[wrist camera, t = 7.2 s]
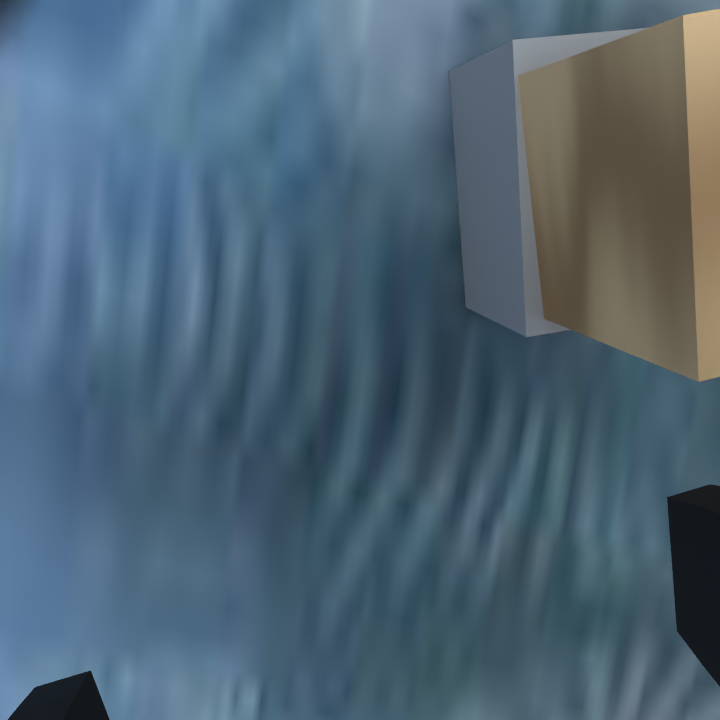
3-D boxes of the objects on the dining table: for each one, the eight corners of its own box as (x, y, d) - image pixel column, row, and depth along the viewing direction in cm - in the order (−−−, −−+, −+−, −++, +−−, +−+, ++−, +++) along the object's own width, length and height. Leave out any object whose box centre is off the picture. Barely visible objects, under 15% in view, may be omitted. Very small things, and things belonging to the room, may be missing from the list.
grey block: (659, 275, 20) (766, 297, 16) (463, 306, 19) (526, 337, 15) (661, 52, 18) (781, 15, 14) (446, 72, 17) (512, 40, 13)
